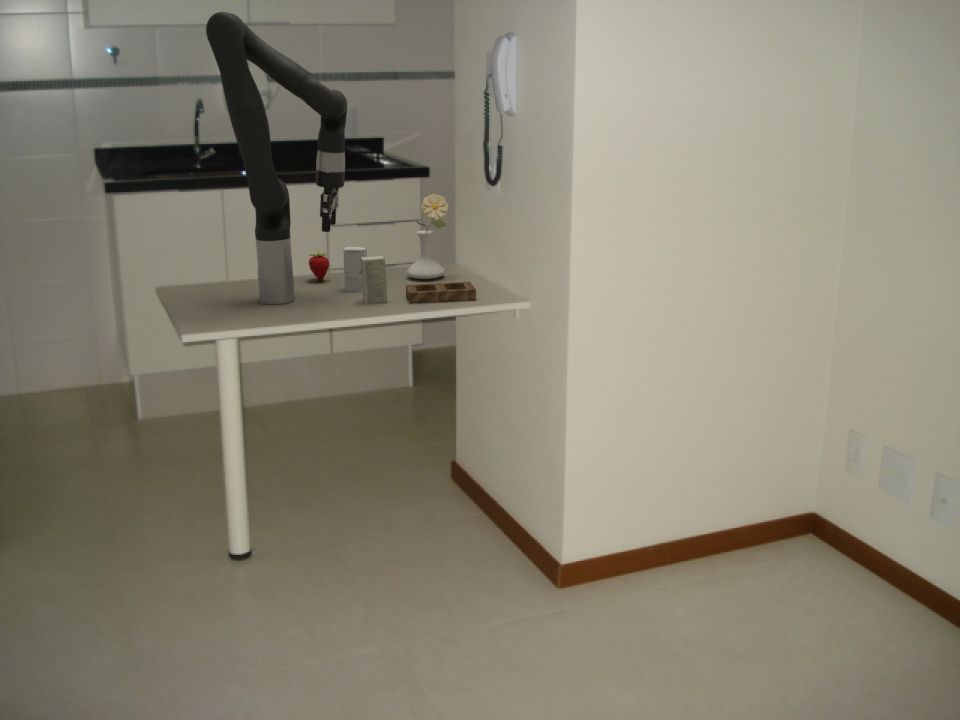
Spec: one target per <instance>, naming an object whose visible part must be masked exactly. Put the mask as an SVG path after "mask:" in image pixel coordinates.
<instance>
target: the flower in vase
mask: <svg viewBox="0 0 960 720" xmlns="http://www.w3.org/2000/svg"><path fill="white" fill-rule="evenodd" d="M445 199H446V198H445V197H444V196H443V195H442V196H441V195H440V194H435V193H432V194H429V195H427V197H424V198H423V200H422V204H421V211H422V213H423V214H424V216H425V217H426V218H429V219H430V220H431V219H432V220H431V222H430V224H429V225H428V226H427V225H426V224H425V223H422V222H419V221H418V220H415V221H416V223H417V224H418V225H419V226H422V227H425V228H426V230H418V231H416V232H415V234H416V235H417V236H418V237H419V242H420V249H421V253H420V257H419V258H418V259H417V260H416V261H415V262H414V263H413V264H411V266H410V267H409V268H407V271H406V274H407V276H409V278H410V277H411V278H413V279H416V280H417V279H418V280H432V279H437V278H440V277H442V276H443V275H445V273H446V271H445V269H444V268H443V266H441V264H439V263H438V262H437V261H436V260H434V259H433V258H432V257H431V254H430V240H431V237H432V235H433V233H434V231H432V230H429V229H430V227H431V226H434V227H435V228H437V229H441V228H443V227H447V224H446V222H445V221H444V220H442V219H441V218H444V217H446V216H447V213H448V210H449V208H450V207H449V203H447V200H445ZM432 224H433V225H432Z"/></svg>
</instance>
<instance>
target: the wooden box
mask: <svg viewBox="0 0 960 720" xmlns="http://www.w3.org/2000/svg"><path fill="white" fill-rule="evenodd" d="M405 296H406V299H407V298H408V299H407V301H408V302H410V303H418V304H431V303H435V304H436V303H447V302H448V303H449V302H468V301H469V302H470V301H471V302H472V301H477V289H476V288H475V287H474V285H473V284H472V282H471V281H453V282H451V281H450V282H435V283H415V284H405ZM410 303H409V304H410Z"/></svg>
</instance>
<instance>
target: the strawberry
mask: <svg viewBox="0 0 960 720" xmlns="http://www.w3.org/2000/svg"><path fill="white" fill-rule="evenodd" d="M314 249H316V247H314ZM316 251H317V253H312V254H308V256H310V259H308V266H309V268H310V271H311V272H312V274H313V275H314V276H315V277H316V279H317V280H318V281H319V282H322V281H323V280H324V278H325V277H326V275H327V273H328V271H329V268H330V261H329V259H328V257H326V256H327V255H326V254H327V253H320V252H319V250H318V249H316Z"/></svg>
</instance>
